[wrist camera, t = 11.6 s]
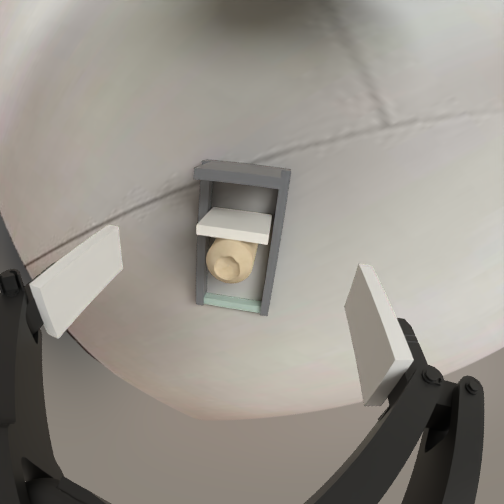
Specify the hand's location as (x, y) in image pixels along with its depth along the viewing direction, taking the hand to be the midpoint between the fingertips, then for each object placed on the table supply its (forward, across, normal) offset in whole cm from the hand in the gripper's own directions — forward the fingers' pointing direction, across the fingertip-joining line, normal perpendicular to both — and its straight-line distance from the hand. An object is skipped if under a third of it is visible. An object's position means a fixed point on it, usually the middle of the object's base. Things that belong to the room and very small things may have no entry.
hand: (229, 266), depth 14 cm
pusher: (+24, -3, -6) cm, 25 cm away
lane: (+24, -3, -9) cm, 26 cm away
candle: (+24, -3, -9) cm, 26 cm away
